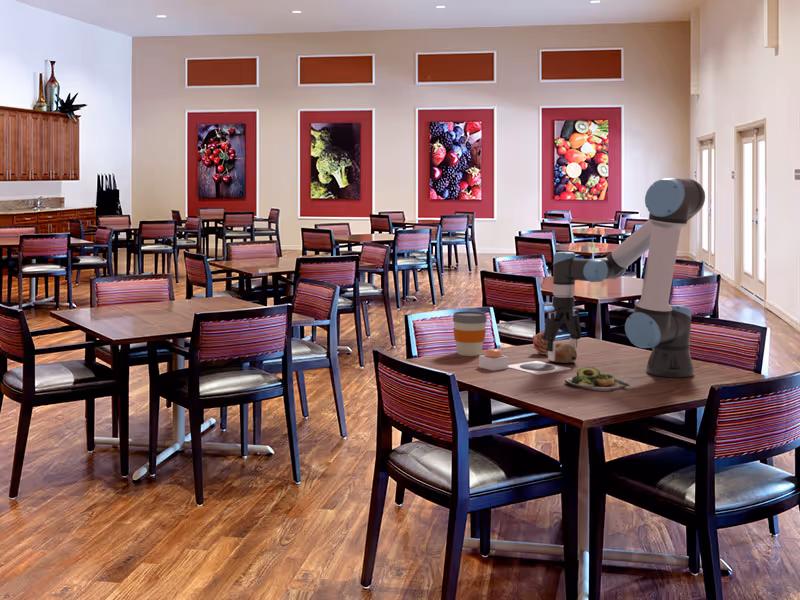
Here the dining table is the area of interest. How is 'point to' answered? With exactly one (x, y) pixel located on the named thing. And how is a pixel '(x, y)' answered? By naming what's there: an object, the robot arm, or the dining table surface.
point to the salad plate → (595, 380)
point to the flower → (540, 343)
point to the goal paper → (537, 367)
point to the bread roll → (564, 353)
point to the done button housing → (493, 362)
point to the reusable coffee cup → (469, 332)
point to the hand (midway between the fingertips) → (562, 358)
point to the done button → (493, 353)
